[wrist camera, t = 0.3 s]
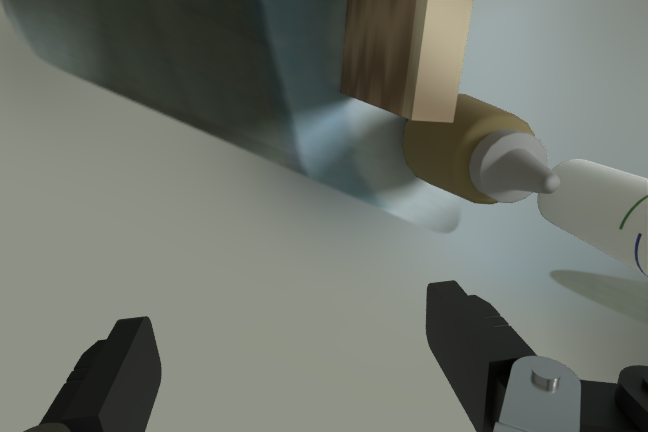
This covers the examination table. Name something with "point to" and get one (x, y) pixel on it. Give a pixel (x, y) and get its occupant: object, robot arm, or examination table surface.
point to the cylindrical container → (601, 209)
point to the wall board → (406, 55)
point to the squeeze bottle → (479, 154)
